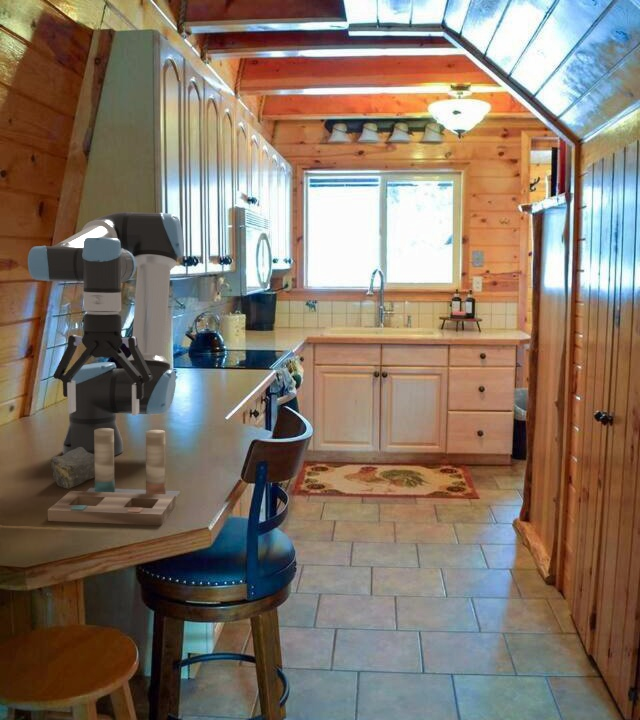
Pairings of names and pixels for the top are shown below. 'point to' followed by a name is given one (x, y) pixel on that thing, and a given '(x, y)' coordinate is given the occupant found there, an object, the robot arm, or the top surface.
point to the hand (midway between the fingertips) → (103, 413)
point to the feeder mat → (137, 491)
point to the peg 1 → (104, 460)
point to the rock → (73, 467)
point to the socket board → (113, 508)
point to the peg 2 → (155, 462)
